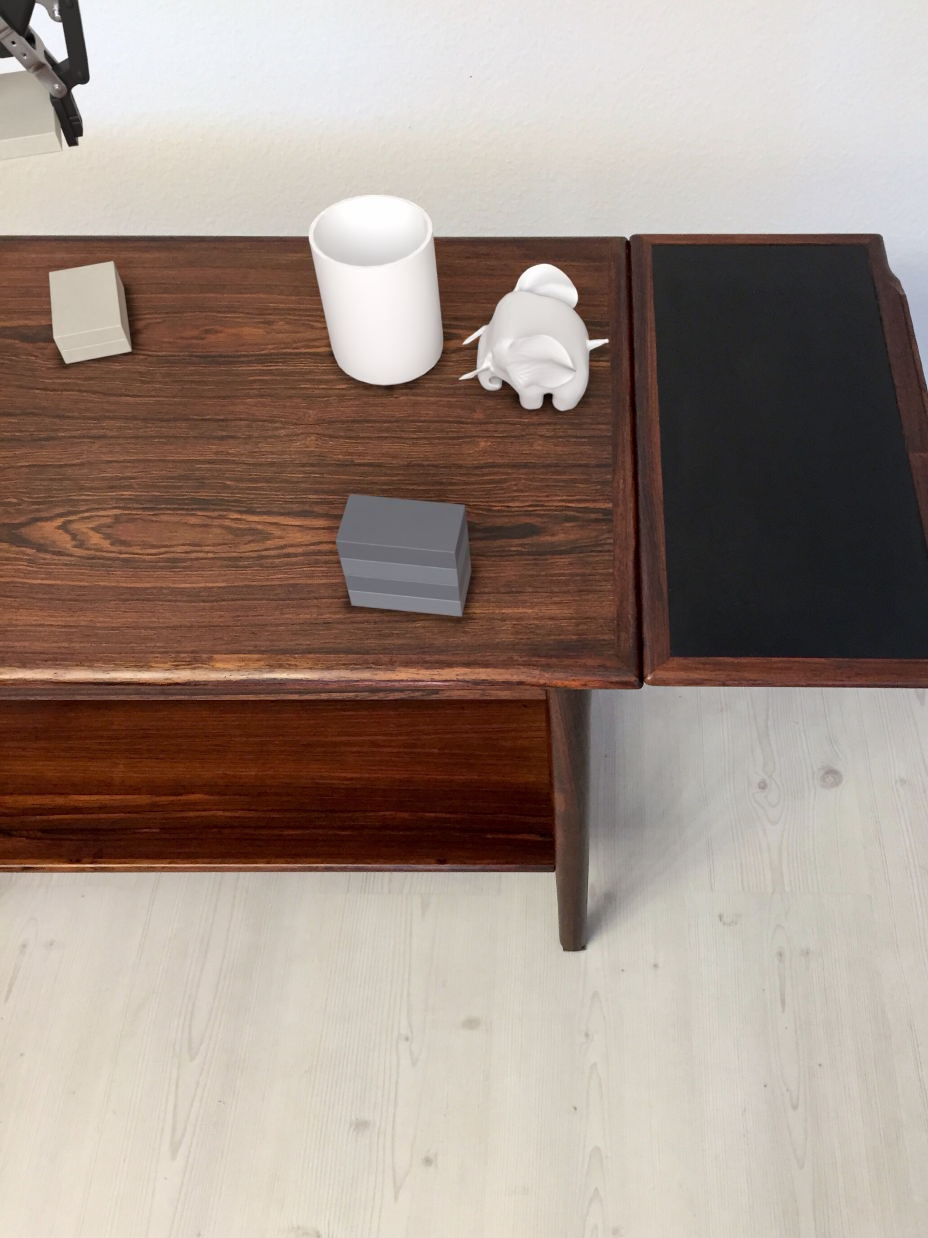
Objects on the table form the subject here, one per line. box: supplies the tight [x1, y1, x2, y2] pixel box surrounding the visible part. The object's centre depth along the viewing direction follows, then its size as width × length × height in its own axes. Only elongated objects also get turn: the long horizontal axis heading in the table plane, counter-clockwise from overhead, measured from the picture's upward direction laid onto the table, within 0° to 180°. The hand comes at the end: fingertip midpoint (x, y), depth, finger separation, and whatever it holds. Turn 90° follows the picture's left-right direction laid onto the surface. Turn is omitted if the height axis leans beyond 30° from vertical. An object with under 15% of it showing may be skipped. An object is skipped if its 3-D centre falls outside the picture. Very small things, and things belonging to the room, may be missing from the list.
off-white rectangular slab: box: [0, 69, 64, 162], centre depth 76 cm, size 9×6×1 cm, turn 17°
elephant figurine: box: [458, 263, 610, 412], centre depth 85 cm, size 10×12×9 cm
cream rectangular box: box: [48, 260, 133, 365], centre depth 91 cm, size 9×6×3 cm, turn 17°
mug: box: [308, 193, 444, 386], centre depth 86 cm, size 10×12×12 cm
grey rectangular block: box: [335, 493, 472, 617], centre depth 73 cm, size 8×4×7 cm, turn 83°
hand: (30, 146), depth 78 cm, fingers closed on off-white rectangular slab, 5 cm apart
